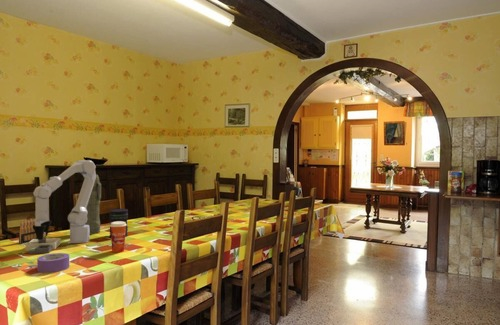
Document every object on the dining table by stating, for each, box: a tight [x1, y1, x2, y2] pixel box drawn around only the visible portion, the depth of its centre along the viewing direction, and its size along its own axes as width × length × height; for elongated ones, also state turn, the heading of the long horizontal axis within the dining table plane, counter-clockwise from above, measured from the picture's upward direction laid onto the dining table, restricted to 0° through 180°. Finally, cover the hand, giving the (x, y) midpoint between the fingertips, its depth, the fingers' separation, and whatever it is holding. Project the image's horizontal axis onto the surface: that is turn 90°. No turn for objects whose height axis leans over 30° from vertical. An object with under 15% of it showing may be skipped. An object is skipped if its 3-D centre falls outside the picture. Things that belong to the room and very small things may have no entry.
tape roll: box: [36, 252, 70, 274], centre depth 150 cm, size 12×12×5 cm
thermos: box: [85, 173, 102, 235], centre depth 214 cm, size 9×12×35 cm
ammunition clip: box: [18, 218, 37, 245], centre depth 192 cm, size 11×2×12 cm, turn 158°
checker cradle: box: [27, 245, 53, 255], centre depth 173 cm, size 9×6×2 cm, turn 105°
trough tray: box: [25, 237, 62, 251], centre depth 181 cm, size 13×10×3 cm
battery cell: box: [38, 232, 47, 243], centre depth 179 cm, size 3×3×8 cm
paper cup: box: [109, 221, 128, 253], centre depth 177 cm, size 8×8×14 cm
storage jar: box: [109, 208, 129, 238], centre depth 208 cm, size 10×10×15 cm
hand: (42, 237), depth 179 cm, fingers open, 7 cm apart
